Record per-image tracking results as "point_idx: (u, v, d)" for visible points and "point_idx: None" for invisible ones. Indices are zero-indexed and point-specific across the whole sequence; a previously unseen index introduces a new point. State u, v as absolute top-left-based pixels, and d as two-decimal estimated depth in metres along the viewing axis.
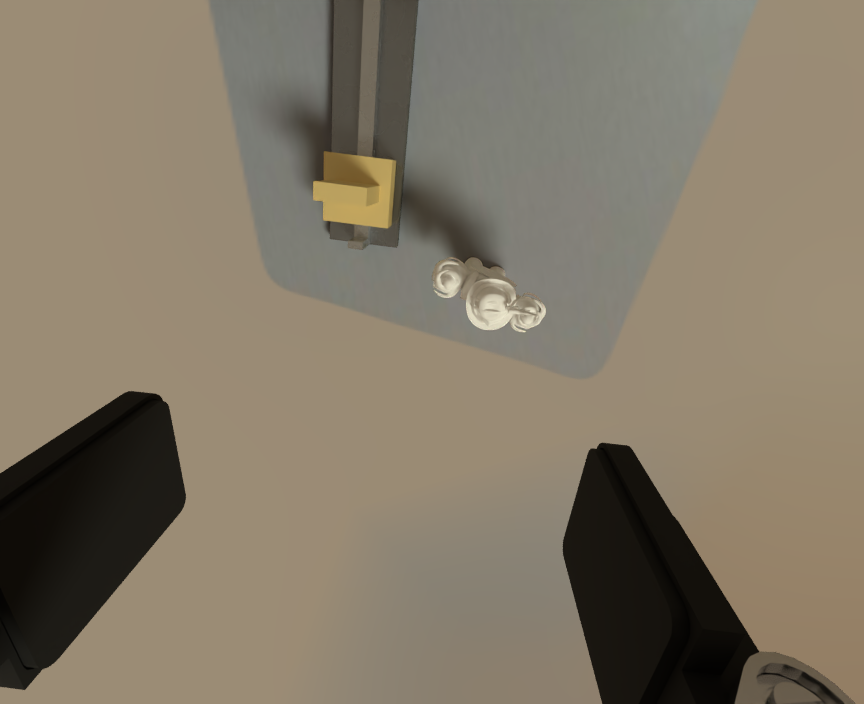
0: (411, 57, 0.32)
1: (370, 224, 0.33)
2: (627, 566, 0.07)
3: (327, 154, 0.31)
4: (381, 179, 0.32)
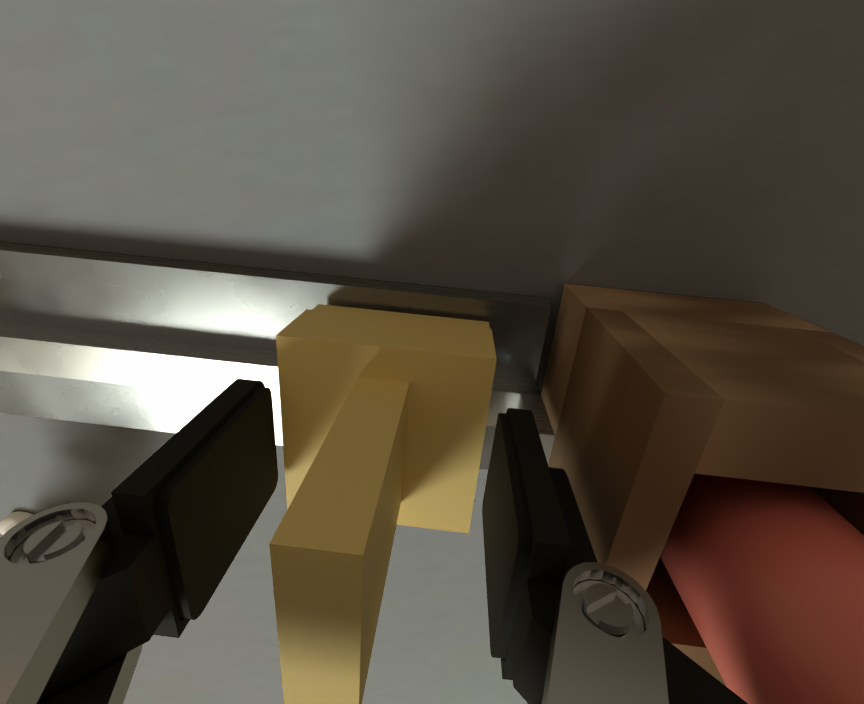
0: None
1: (290, 471, 0.11)
2: (505, 506, 0.07)
3: (486, 369, 0.09)
4: (417, 506, 0.11)
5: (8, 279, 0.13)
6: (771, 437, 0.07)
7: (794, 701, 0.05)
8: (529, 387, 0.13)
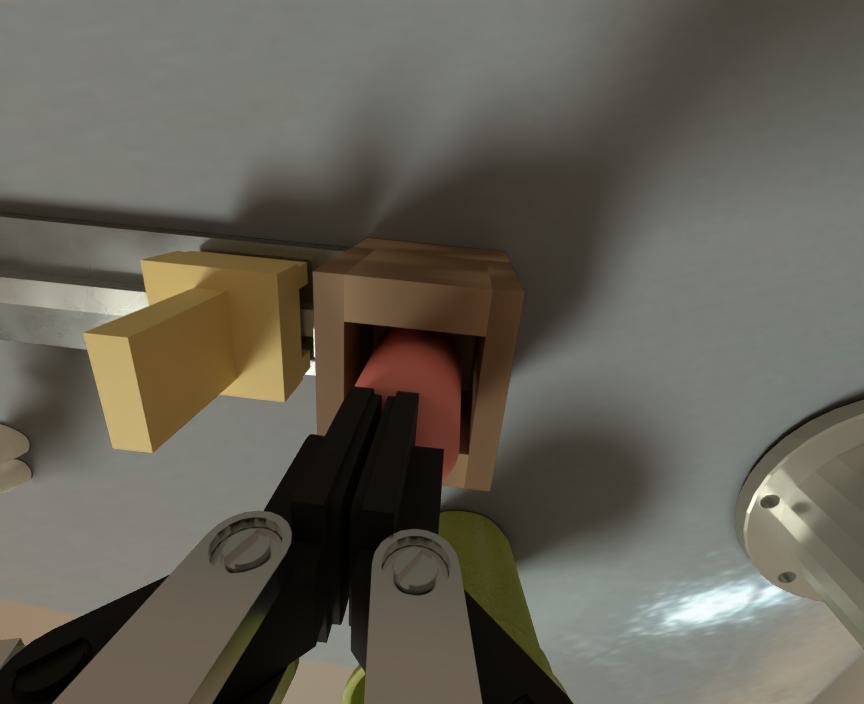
0: None
1: None
2: None
3: (271, 281, 0.15)
4: (247, 382, 0.17)
5: None
6: (375, 297, 0.12)
7: None
8: None
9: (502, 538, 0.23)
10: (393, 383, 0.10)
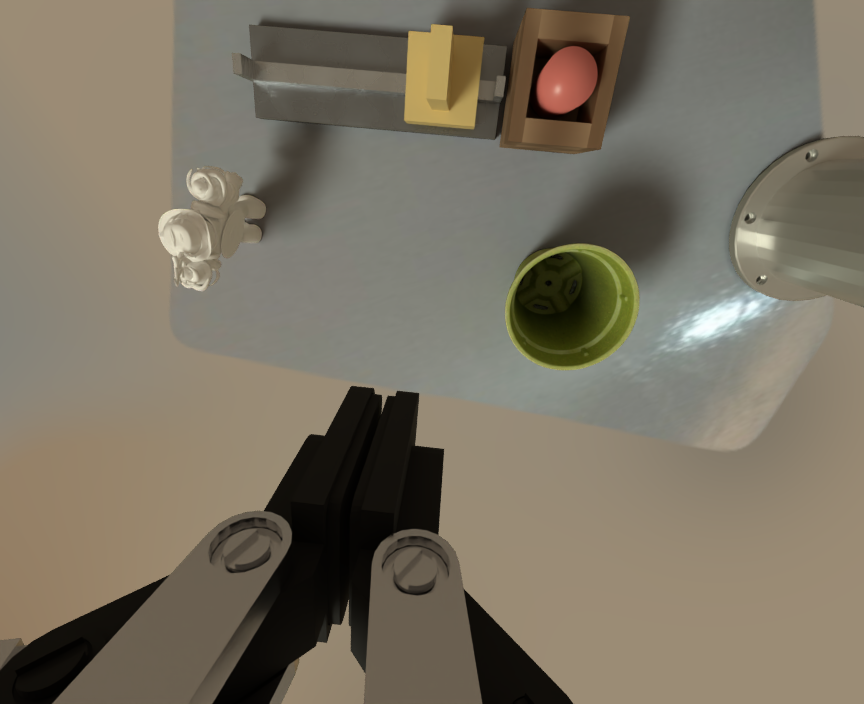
0: (434, 132, 0.33)
1: (407, 98, 0.29)
2: None
3: (480, 42, 0.28)
4: (455, 113, 0.29)
5: (281, 42, 0.31)
6: (555, 22, 0.25)
7: (542, 69, 0.26)
8: None
9: (581, 261, 0.36)
10: (571, 47, 0.24)
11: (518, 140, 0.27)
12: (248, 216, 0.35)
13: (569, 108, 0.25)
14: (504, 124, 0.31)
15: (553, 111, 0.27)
